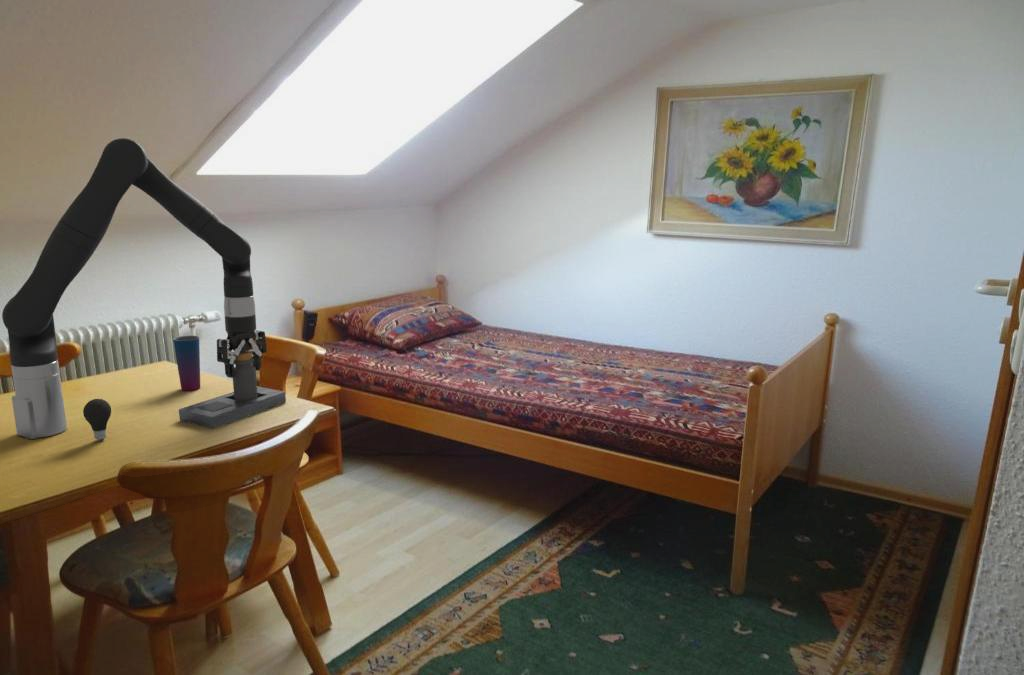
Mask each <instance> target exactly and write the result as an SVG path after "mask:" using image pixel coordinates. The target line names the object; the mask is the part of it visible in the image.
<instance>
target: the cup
mask: <svg viewBox="0 0 1024 675" xmlns="http://www.w3.org/2000/svg"><path fill="white" fill-rule="evenodd" d="M173 347H174V352H175V353H174V355H175V359H176V364H177V366H176V367H177V372H178V376H179V384H180V388H181V391H183V392H193V391H198V390H200V389H201V360H200V356H201V355H200V354H201V353H200V350H201V349H200V336H198V335H181V336H177V337H174V338H173Z"/></svg>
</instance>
